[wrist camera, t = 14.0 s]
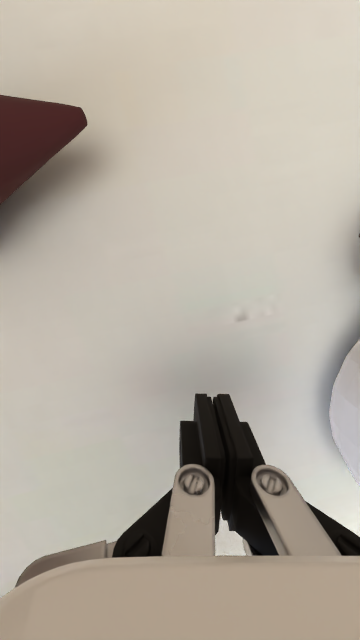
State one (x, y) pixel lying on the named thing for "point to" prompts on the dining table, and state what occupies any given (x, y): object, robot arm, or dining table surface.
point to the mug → (347, 411)
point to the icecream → (32, 137)
